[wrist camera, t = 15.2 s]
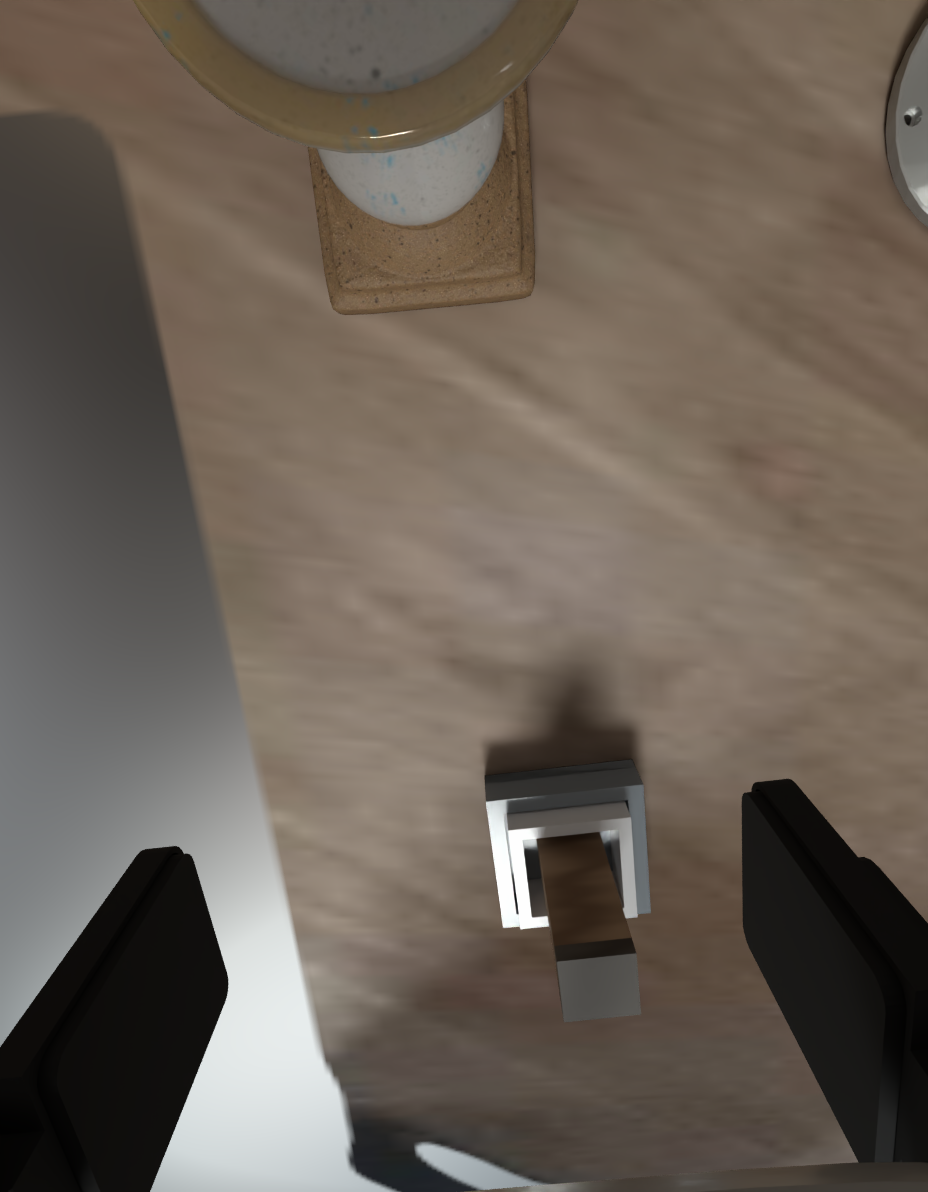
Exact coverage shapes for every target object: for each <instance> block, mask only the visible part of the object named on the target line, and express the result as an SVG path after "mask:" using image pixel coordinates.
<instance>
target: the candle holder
mask: <svg viewBox="0 0 928 1192" xmlns="http://www.w3.org/2000/svg"><path fill="white" fill-rule="evenodd" d="M133 1H134V3H135V4H136V6H137V8H138V10H139V11H140V13H141V14H142V16H143V17H144V19H145V20H146V21H147V23H148V24H149V25H150V27H151V28H152V30H153V31H154V32H155V34H156V35H157V36H158V38H159V39H160V41H161V42H162V43H163V45H164V46H165V47H166V49H167V50H168V52H169V53H170V54H171V55H172V56H173V57H174V58H175V59H176V60H177V61H178V62H179V63H180V64H181V65H182V66H183V67H184V68H185V69H186V70H187V71H188V72H189V73H190V75H191V76H192V77H193V78H194V79H195V80H196V81H197V82H198V83H199V84H200V85H201V86H202V87H203V88H204V89H206V90H207V91H208V92H209V93H211V94H212V95H213V96H214V97H216V98H217V99H218V100H220V101H221V102H222V103H223V104H225V105H226V106H227V107H229V108H230V109H231V110H232V111H234V112H235V113H236V114H238V115H239V116H241V117H243V118H245V119H247V120H248V121H250V122H252V123H254V124H256V125H257V126H259V127H261V128H263V129H265V130H266V131H268V132H270V133H272V134H274V135H277V136H280V137H283V138H285V139H288V140H291V141H294V142H297V143H299V144H302V145H305V146H308V152H309V160H310V167H311V174H312V182H313V189H314V197H315V204H316V212H317V219H318V227H319V234H320V242H321V249H322V256H323V264H324V271H325V277H326V282H327V287H328V292H329V297H330V302H331V304H332V307H333V309H334V310H335V311H337V312H338V313H340V314H344V315H356V314H375V313H386V312H397V311H407V310H418V309H429V308H439V307H450V306H461V305H471V304H482V303H493V302H502V301H508V300H515V299H522V298H525V297H527V296H530V295H531V293H532V291H533V287H534V283H535V248H534V227H533V207H532V187H531V166H530V146H529V126H528V105H527V89H526V80H525V79H526V78H527V77H528V76H529V74H530V73H531V72H532V71H533V70H534V69H535V67H536V66H537V65H538V64H539V63H540V62H541V60H542V59H543V58H544V57H545V56H546V55H547V53H548V52H549V50H550V49H551V47H552V46H553V44H554V43H555V41H556V39H557V38H558V36H559V35H560V33H561V31H562V30H563V28H564V27H565V25H566V23H567V22H568V20H569V19H570V17H571V16H572V14H573V12H574V9H575V7H576V5H577V3H578V0H133Z"/></svg>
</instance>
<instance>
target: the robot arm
mask: <svg viewBox="0 0 928 1192" xmlns="http://www.w3.org/2000/svg"><path fill="white" fill-rule="evenodd" d="M904 119H905V120H906V123H905V120H904ZM886 144H887V157H888V162H889V165H890V169H891V173H892V176H893V180H894V183H895V185H896V187H897V189H898V191H899V193H900V195H901V197H902V199H903V201H904V203H905V204H906V205H907V207H908V208H909V209H910V210H911V211H912V213H913V214H914V215H915V216H916V218H917V219H918V220H919V221H921V222H922V223H923V224H924V225H926V226H927V227H928V18H927V19H926V20H925V21H924V22H923V24H922V25H921V27H920V28H919V30H918V32H917V33H916V35H915V37H914V38H913V40H912V42H911V43H910V45H909V47H908V48H907V50H906V52H905V55H904V57H903V59H902V62H901V64H900V67H899V69H898V71H897V74H896V76H895V79H894V83H893V87H892V91H891V95H890V99H889V103H888V111H887V122H886ZM742 886H743V928H744V933H745V937H746V940H747V943H748V946H749V948H750V950H751V952H752V954H753V956H754V958H755V960H756V962H757V964H758V966H759V968H760V970H761V972H762V974H763V976H764V978H765V980H766V982H767V984H768V986H769V987H770V989H771V991H772V993H773V995H774V997H775V999H776V1001H777V1003H778V1005H779V1007H780V1009H781V1011H782V1013H783V1015H784V1017H785V1019H786V1021H787V1023H788V1025H789V1027H790V1029H791V1031H792V1033H793V1035H794V1036H795V1038H796V1040H797V1042H798V1044H799V1046H800V1048H801V1050H802V1052H803V1054H804V1056H805V1058H806V1060H807V1062H808V1064H809V1066H810V1068H811V1070H812V1072H813V1074H814V1076H815V1078H816V1080H817V1082H818V1083H819V1085H820V1087H821V1089H822V1091H823V1093H824V1095H825V1097H826V1099H827V1101H828V1103H829V1105H830V1107H831V1109H832V1111H833V1113H834V1115H835V1117H836V1119H837V1121H838V1123H839V1125H840V1127H841V1129H842V1130H843V1132H844V1134H845V1136H846V1138H847V1140H848V1142H849V1144H850V1146H851V1148H852V1150H853V1152H854V1154H855V1156H856V1158H857V1160H858V1162H859V1163H840V1164H823V1165H806V1166H790V1167H773V1168H756V1169H739V1170H725V1171H713V1172H700V1173H687V1174H675V1175H662V1176H650V1177H637V1178H625V1179H612V1180H600V1181H587V1182H575V1183H562V1184H550V1185H538V1186H526V1187H514V1188H503V1189H492V1190H479V1191H467V1192H928V923H927V922H926V921H925V920H924V918H923V917H922V916H921V915H920V914H919V913H918V912H917V910H916V909H915V908H914V907H913V906H912V905H911V904H910V902H909V901H908V900H907V899H906V898H905V897H904V896H903V894H902V893H901V892H900V891H899V890H898V889H897V887H896V886H895V885H894V884H893V883H892V882H891V881H890V879H889V878H888V877H887V876H886V875H885V874H884V873H883V871H882V870H881V869H880V868H879V867H878V866H877V865H876V864H875V863H874V862H873V861H872V860H870V859H868V858H865V857H857V856H856V854H855V853H854V852H853V851H852V850H851V848H850V847H849V846H848V845H847V844H846V843H845V841H844V840H843V839H842V838H841V837H840V835H839V834H838V833H837V832H836V831H835V829H834V828H833V827H832V826H831V825H830V824H829V822H828V821H827V820H826V819H825V818H824V816H823V815H822V814H821V813H820V812H819V811H818V809H817V808H816V807H815V806H814V805H813V803H812V802H811V801H810V800H809V799H808V798H807V796H806V795H805V794H804V793H803V792H802V790H801V789H800V788H799V787H798V786H797V784H796V783H795V782H794V781H792V780H791V779H782V780H773V781H764V782H755V783H754V784H753V786H752V792H747V793H744V794H743V796H742ZM227 992H228V976H227V971H226V969H225V965H224V961H223V958H222V955H221V951H220V948H219V944H218V941H217V938H216V934H215V931H214V928H213V924H212V921H211V918H210V914H209V911H208V908H207V904H206V901H205V898H204V894H203V891H202V887H201V884H200V881H199V877H198V874H197V870H196V867H195V864H194V861H193V858H192V856H190V854H183V851H182V850H181V849H180V848H179V847H177V846H172V847H162V848H153V849H145V850H142V851H141V852H140V853H139V854H138V855H137V856H136V857H135V859H134V860H133V862H132V863H131V864H130V866H129V867H128V869H127V870H126V871H125V873H124V874H123V876H122V877H121V878H120V880H119V881H118V883H117V884H116V886H115V887H114V888H113V890H112V891H111V892H110V894H109V895H108V897H107V898H106V899H105V901H104V902H103V904H102V905H101V906H100V908H99V909H98V911H97V912H96V913H95V915H94V916H93V918H92V919H91V920H90V922H89V923H88V925H87V926H86V928H85V929H84V930H83V932H82V933H81V935H80V936H79V937H78V939H77V941H76V942H75V943H74V945H73V946H72V947H71V949H70V950H69V951H68V953H67V954H66V956H65V957H64V958H63V960H62V961H61V963H60V964H59V965H58V967H57V968H56V970H55V971H54V972H53V974H52V975H51V977H50V978H49V979H48V981H47V982H46V984H45V985H44V986H43V988H42V989H41V991H40V992H39V993H38V995H37V996H36V998H35V999H34V1001H33V1002H32V1003H31V1005H30V1006H29V1008H28V1009H27V1010H26V1012H25V1013H24V1015H23V1016H22V1017H21V1019H20V1020H19V1022H18V1023H17V1024H16V1026H15V1027H14V1029H13V1030H12V1031H11V1033H10V1034H9V1036H8V1037H7V1038H6V1040H5V1041H4V1043H3V1044H2V1045H1V1047H0V1192H150V1190H151V1188H152V1185H153V1183H154V1180H155V1178H156V1175H157V1173H158V1170H159V1167H160V1165H161V1162H162V1160H163V1157H164V1155H165V1152H166V1150H167V1147H168V1145H169V1142H170V1140H171V1137H172V1135H173V1132H174V1130H175V1127H176V1124H177V1122H178V1120H179V1117H180V1114H181V1112H182V1110H183V1107H184V1104H185V1102H186V1099H187V1097H188V1094H189V1092H190V1089H191V1087H192V1084H193V1082H194V1079H195V1076H196V1074H197V1072H198V1069H199V1066H200V1064H201V1062H202V1059H203V1056H204V1054H205V1051H206V1049H207V1046H208V1044H209V1041H210V1039H211V1036H212V1034H213V1031H214V1029H215V1026H216V1024H217V1021H218V1018H219V1016H220V1014H221V1011H222V1008H223V1006H224V1003H225V1001H226V997H227Z"/></svg>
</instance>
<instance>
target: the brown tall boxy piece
mask: <svg viewBox="0 0 928 1192" xmlns="http://www.w3.org/2000/svg"><path fill="white" fill-rule="evenodd" d="M536 841H537V849H538V857H539V865H540V871H541V878H542V884H543V891H544V897H545V903H546V910H547V916H548V923H549V929H550V936H551V942H552V948H553V955H554V961H555V968H556V974H557V980H558V987H559V993H560V1000H561V1006H562V1013H563V1019H564V1022H571V1021H581V1020H591V1019H601V1018H611V1017H620V1016H630V1015H640V1014H641V1008H640V995H639V982H638V969H637V956H636V951H635V947H634V944H633V941H632V937H631V934H630V931H629V928H628V924H627V921H626V918H625V914H624V911H623V908H622V905H621V901H620V898H619V895H618V891H617V888H616V885H615V882H614V878H613V875H612V872H611V868H610V865H609V862H608V859H607V855H606V852H605V849H604V845H603V842H602V839H601V836H600V832H593V833H584V834H574V835H565V836H556V837H546V838H537V839H536Z"/></svg>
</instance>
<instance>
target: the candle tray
mask: <svg viewBox="0 0 928 1192" xmlns="http://www.w3.org/2000/svg"><path fill="white" fill-rule="evenodd" d="M485 792H486V806H487V813H488V820H489V827H490V835H491V842H492V849H493V856H494V864H495V871H496V878H497V885H498V892H499V900H500V907H501V914H502V921H503V928H507V927H517V926H521V929H526V928H535V927H545V926H549V923H548V916H547V910H546V903H545V897H544V891H543V884H542V878H541V871H540V865H539V857H538V849H537V841H536V839H537V838H546V837H556V836H565V835H574V834H584V833H593V832H600V836H601V839H602V842H603V845H604V849H605V852H606V855H607V859H608V862H609V865H610V868H611V872H612V875H613V878H614V882H615V885H616V888H617V891H618V895H619V898H620V901H621V905H622V908H623V911H624V914H625V918H633V917H637V914H644V913H651V909H650V892H649V874H648V857H647V840H646V822H645V805H644V787H643V783H642V780H641V778H640V776H639V774H638V772H637V769H636V767H635V765H634V763H633V761H632V759H631V760H622V761H613V762H604V763H595V764H586V765H577V766H568V767H559V768H550V769H541V770H532V771H523V772H514V773H505V774H496V775H488V776H485Z"/></svg>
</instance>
